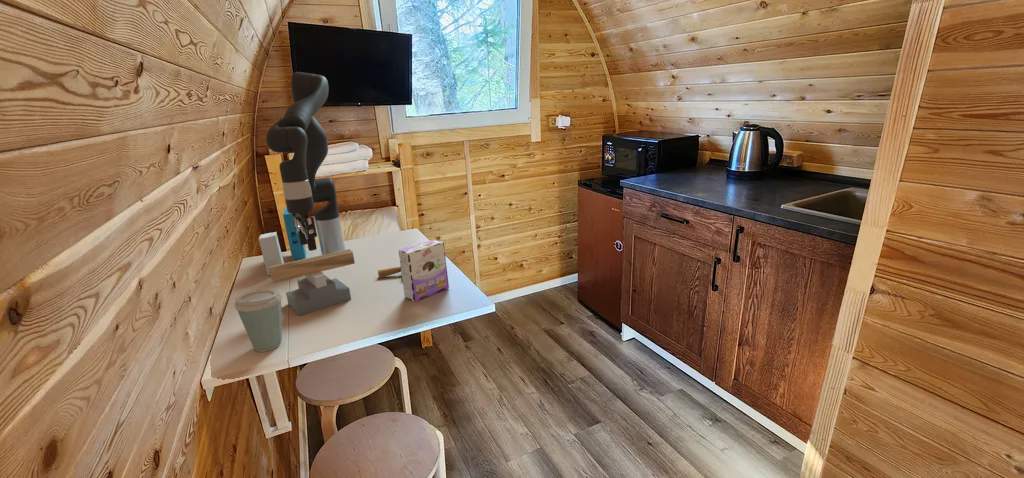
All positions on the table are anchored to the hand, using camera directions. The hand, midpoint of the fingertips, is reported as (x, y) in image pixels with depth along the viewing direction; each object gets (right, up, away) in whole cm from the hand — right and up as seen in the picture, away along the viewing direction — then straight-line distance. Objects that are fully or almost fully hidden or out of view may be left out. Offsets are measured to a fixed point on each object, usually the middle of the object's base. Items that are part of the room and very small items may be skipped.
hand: (308, 247), depth 137 cm
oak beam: (+1, -8, +3) cm, 8 cm away
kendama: (+24, -11, +25) cm, 36 cm away
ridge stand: (+1, -18, +6) cm, 19 cm away
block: (-28, -5, +52) cm, 59 cm away
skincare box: (-29, -10, +36) cm, 47 cm away
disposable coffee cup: (-1, -26, -20) cm, 33 cm away
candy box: (+35, -15, +8) cm, 39 cm away
